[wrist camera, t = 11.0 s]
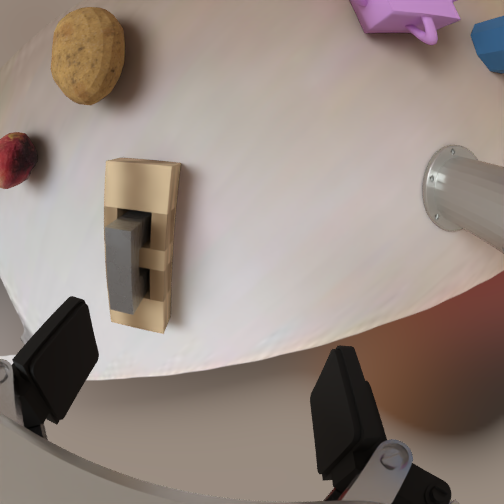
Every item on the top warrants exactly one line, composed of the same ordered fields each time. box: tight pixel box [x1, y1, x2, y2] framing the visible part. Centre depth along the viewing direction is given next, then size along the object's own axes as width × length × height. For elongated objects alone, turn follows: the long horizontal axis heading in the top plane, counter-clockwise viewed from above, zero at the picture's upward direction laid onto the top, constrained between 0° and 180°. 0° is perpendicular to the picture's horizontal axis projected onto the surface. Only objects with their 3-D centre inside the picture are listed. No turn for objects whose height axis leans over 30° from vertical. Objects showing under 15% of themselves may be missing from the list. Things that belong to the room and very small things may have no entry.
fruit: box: [0, 132, 37, 189], centre depth 26 cm, size 8×8×8 cm
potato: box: [51, 7, 125, 105], centre depth 22 cm, size 10×14×8 cm
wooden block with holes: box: [104, 158, 181, 334], centre depth 33 cm, size 8×22×4 cm, turn 170°
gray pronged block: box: [105, 210, 152, 315], centre depth 31 cm, size 10×3×8 cm, turn 170°
